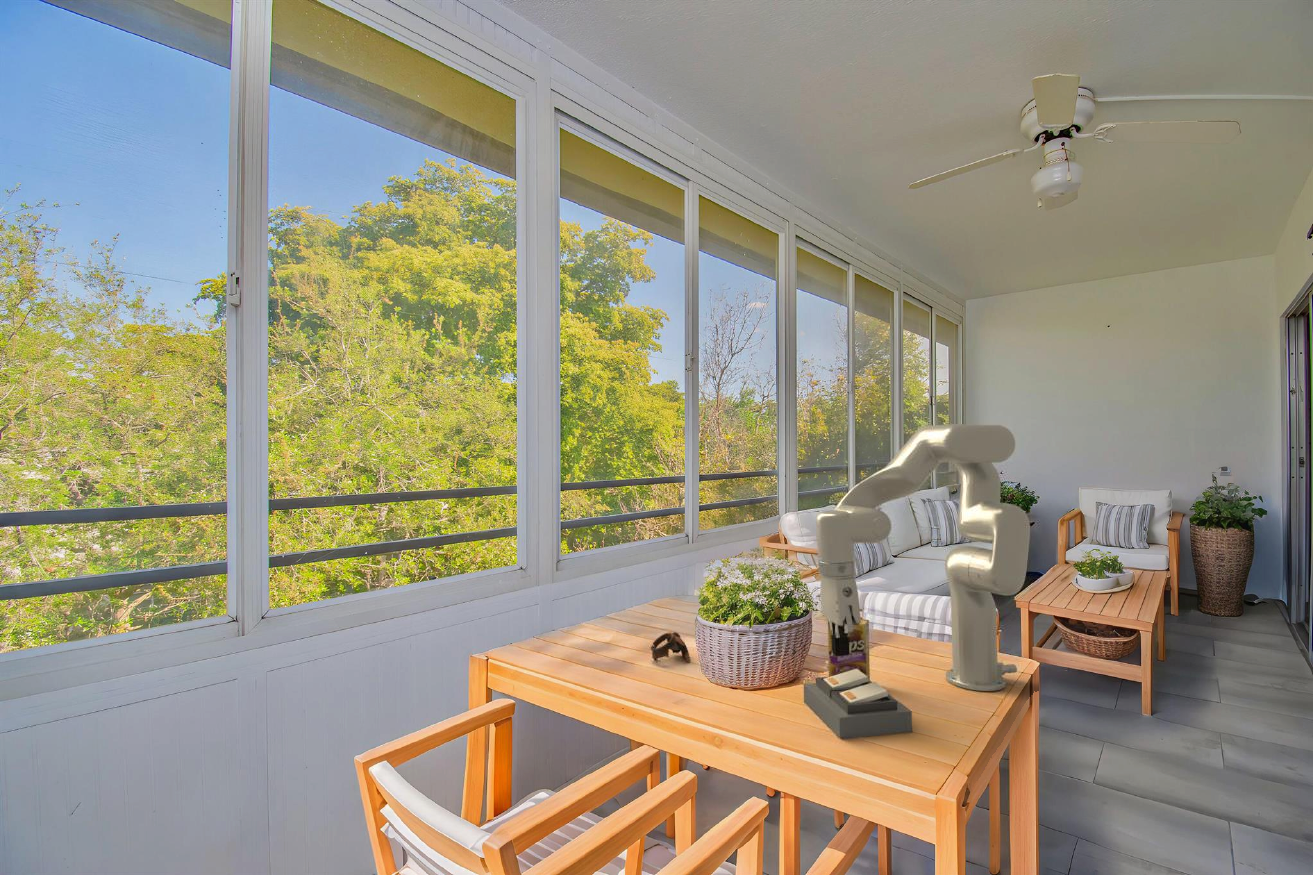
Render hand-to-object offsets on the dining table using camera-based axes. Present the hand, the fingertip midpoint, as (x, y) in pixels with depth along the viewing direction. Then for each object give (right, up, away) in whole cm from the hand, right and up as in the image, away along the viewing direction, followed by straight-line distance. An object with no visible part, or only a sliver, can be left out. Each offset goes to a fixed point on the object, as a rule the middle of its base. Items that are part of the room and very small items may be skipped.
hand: (840, 654), depth 136 cm
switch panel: (+2, -11, -4) cm, 12 cm away
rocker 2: (+2, -5, -8) cm, 10 cm away
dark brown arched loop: (-35, -13, +33) cm, 50 cm away
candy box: (+6, -12, +14) cm, 19 cm away
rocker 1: (+1, -6, 0) cm, 6 cm away
